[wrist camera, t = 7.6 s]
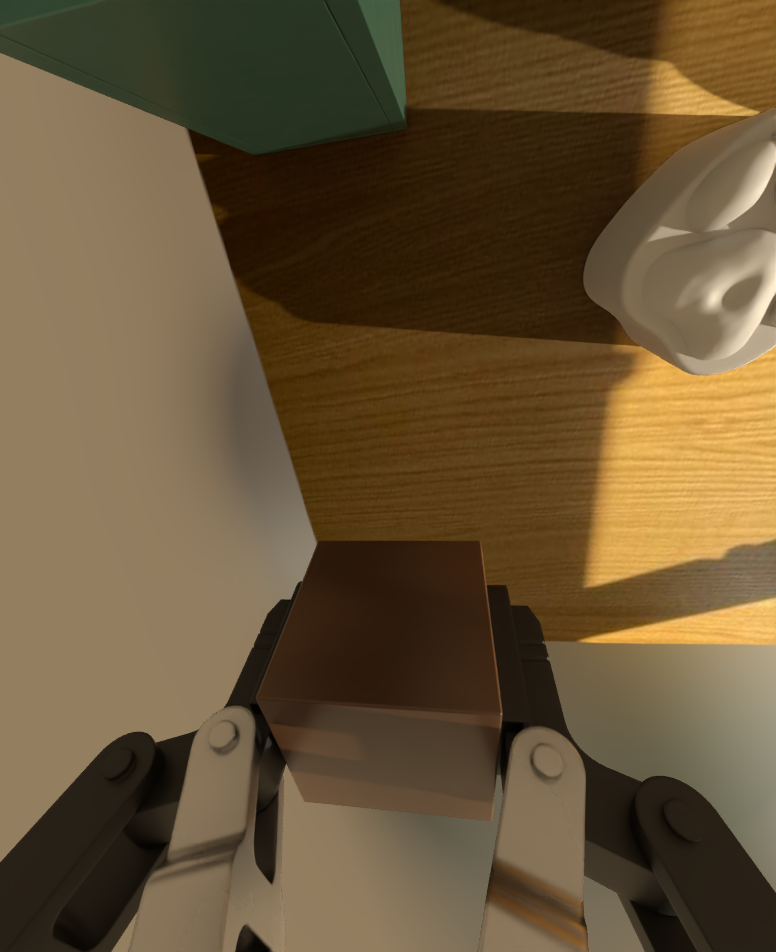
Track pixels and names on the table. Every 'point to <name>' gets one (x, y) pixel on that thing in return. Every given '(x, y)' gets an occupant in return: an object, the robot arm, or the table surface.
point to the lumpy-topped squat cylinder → (697, 252)
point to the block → (389, 680)
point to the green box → (227, 63)
